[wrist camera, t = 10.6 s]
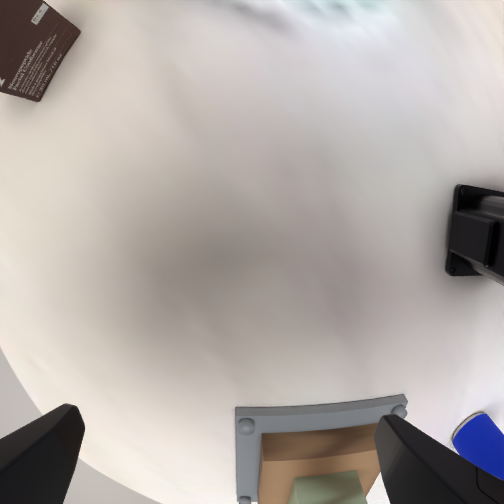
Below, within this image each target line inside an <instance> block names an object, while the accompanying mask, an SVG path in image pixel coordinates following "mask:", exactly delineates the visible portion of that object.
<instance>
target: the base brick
mask: <svg viewBox="0 0 504 504" xmlns="http://www.w3.org/2000/svg"><path fill="white" fill-rule="evenodd" d="M378 423H379V422H378ZM378 423H372V424H366V425H359V426H352V427H344V428H336V429H326V430H315V431H302V432H283V433H262V434H261V449H260V464H259V477H258V491H257V498H258V504H288V503H289V499H290V495H291V491H292V487H293V482H294V478H295V477H305V476H315V475H324V474H332V473H339V472H345V471H352V470H356V471H357V474H358V477H359V480H360V483H361V486H362V489H363V492H364V495H365V498H366V496H367V494H368V492H369V491H370V489H371V487H372V485H373V484H374V482H375V480H376V478H377V476H378V475H379V473H380V471H381V470H380V465H379V460H378V456H377V451H376V446H375V442H374V433H375V430H376V428H377V425H378Z"/></svg>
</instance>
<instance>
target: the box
mask: <svg viewBox="0 0 504 504" xmlns="http://www.w3.org/2000/svg"><path fill="white" fill-rule="evenodd" d="M79 33H80V30H79V29H78V28H77V27H75V26H74V25H73V24H72V23H71V22H69V21H68V20H67V19H65V18H64V17H63V16H62V15H60V14H59V13H58V12H57V11H56V10H54V9H53V8H52V7H51V6H49V5H48V4H47V3H46V2H45V1H43V0H0V92H3V93H6V94H10V95H14V96H18V97H21V98H25V99H28V100H32V101H35V102H38V101H39V100H40V98H41V96H42V94H43V92H44V90H45V88H46V86H47V84H48V82H49V80H50V78H51V77H52V75H53V73H54V72H55V70H56V68H57V66H58V65H59V63H60V61H61V59H62V58H63V56H64V55H65V53H66V52H67V50H68V49H69V47H70V46H71V44H72V43H73V41H74V40H75V39H76V37H77V36H78V35H79Z"/></svg>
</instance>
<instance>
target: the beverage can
mask: <svg viewBox="0 0 504 504" xmlns="http://www.w3.org/2000/svg"><path fill="white" fill-rule="evenodd" d="M453 445H454V447H455V449H456V450H457V452H458V453H459V455H460V456H462V457H463V458H465V459H466V460H468V461H470V462H471V463H473V464H475V465H476V466H477V467H480V468H482V469H483V470H485V471H487V472H488V473H490V474H492V475H494V476H496V477H498V478H500V479H502V480H504V434H503V433H502V432H501V431H500V430H499V428H498V427H497V426H496V425H495V423H494V422H493V421H492V420H491V419H490V417H489V416H488V415H487V414H485V413H478V414H475V415H472V416H471V417H469V418H468V419H466V420H465V421H464V422H463V423H462V424H461V425H460V426H459V427H458V428H457V430H456V431H455V433H454V436H453Z"/></svg>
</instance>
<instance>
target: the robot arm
mask: <svg viewBox="0 0 504 504" xmlns="http://www.w3.org/2000/svg"><path fill="white" fill-rule="evenodd" d="M461 189H462V190H463V192H462V194H461ZM452 267H453V270H452V271H451V269H452ZM446 273H447V274H449V275H450V276H477V275H485V276H486V277H488V278H490V279H492V280H494V281H496V282H498V283H500V284H501V285H503V286H504V192H499V191H494V190H490V189H484V188H479V187H474V186H469V185H463V184H459V185H457V186H456V189H455V199H454V211H453V221H452V230H451V238H450V245H449V252H448V258H447V264H446ZM84 432H85V424H84V421H83V419H82V416H81V414H80V411H79V409H78V407H77V406H75V405H71V404H67V403H65V404H63V405H61V406H59V407H57V408H56V409H54V410H52V411H50V412H49V413H47V414H45V415H43V416H41V417H40V418H38V419H36V420H34V421H32V422H31V423H29V424H27V425H25V426H23V427H22V428H20V429H18V430H16V431H14V432H12V433H11V434H9V435H7V436H5V437H3V438H1V439H0V504H63V502H64V499H65V496H66V493H67V490H68V488H69V485H70V482H71V479H72V476H73V473H74V471H75V467H76V464H77V460H78V456H79V452H80V448H81V444H82V440H83V436H84ZM374 442H375V446H376V451H377V456H378V460H379V465H380V470H381V475H382V479H383V483H384V486H385V489H386V492H387V495H388V498H389V501H390V504H504V480H502V479H500V478H498V477H496V476H494V475H492V474H490V473H488V472H487V471H485V470H483V469H482V468H480V467H477V466H476V465H475V464H473V463H471V462H470V461H468V460H466V459H465V458H463V457H462V456H460V455H458V454H457V453H455V452H454V451H452V450H450V449H449V448H447V447H446V446H444V445H442V444H441V443H439V442H438V441H436V440H435V439H433V438H432V437H430V436H428V435H427V434H425V433H424V432H422V431H421V430H419V429H418V428H416V427H415V426H413V425H412V424H410V423H409V422H407V421H406V420H404V419H403V418H401V417H400V416H398V415H397V414H394V413H392V414H386V415H382V416H381V418H380V420H379V423H378V425H377V428H376V430H375V433H374Z"/></svg>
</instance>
